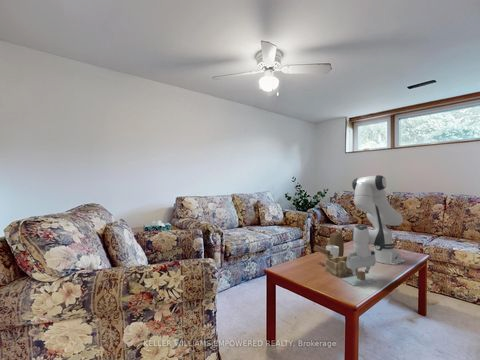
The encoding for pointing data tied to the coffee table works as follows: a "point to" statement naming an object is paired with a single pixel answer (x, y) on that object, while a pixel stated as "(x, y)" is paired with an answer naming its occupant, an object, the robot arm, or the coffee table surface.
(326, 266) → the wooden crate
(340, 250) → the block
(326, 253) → the bar
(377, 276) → the coffee table surface
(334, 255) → the cup
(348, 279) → the lid
